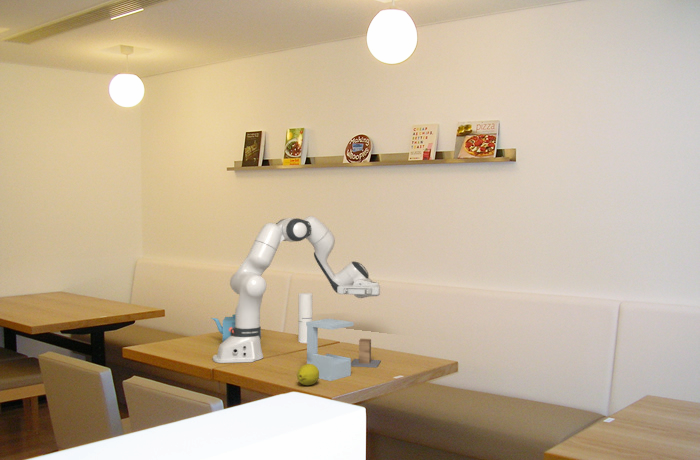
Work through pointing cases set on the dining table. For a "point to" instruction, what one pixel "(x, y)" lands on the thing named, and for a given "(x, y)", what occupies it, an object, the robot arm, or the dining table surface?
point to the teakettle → (225, 326)
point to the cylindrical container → (304, 315)
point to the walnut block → (365, 351)
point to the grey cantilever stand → (329, 364)
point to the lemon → (308, 374)
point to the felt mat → (372, 364)
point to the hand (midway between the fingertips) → (356, 291)
